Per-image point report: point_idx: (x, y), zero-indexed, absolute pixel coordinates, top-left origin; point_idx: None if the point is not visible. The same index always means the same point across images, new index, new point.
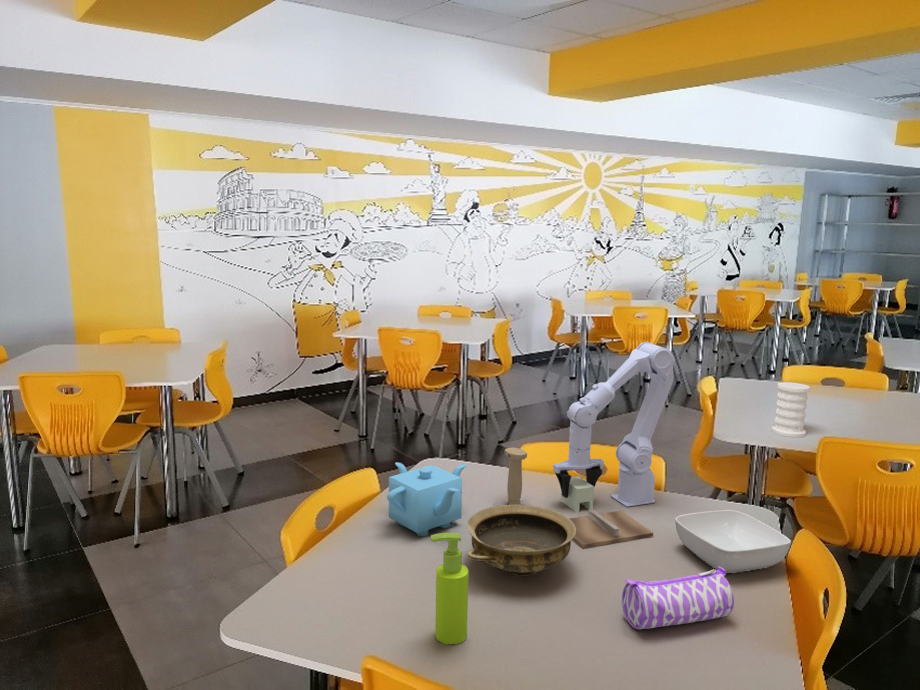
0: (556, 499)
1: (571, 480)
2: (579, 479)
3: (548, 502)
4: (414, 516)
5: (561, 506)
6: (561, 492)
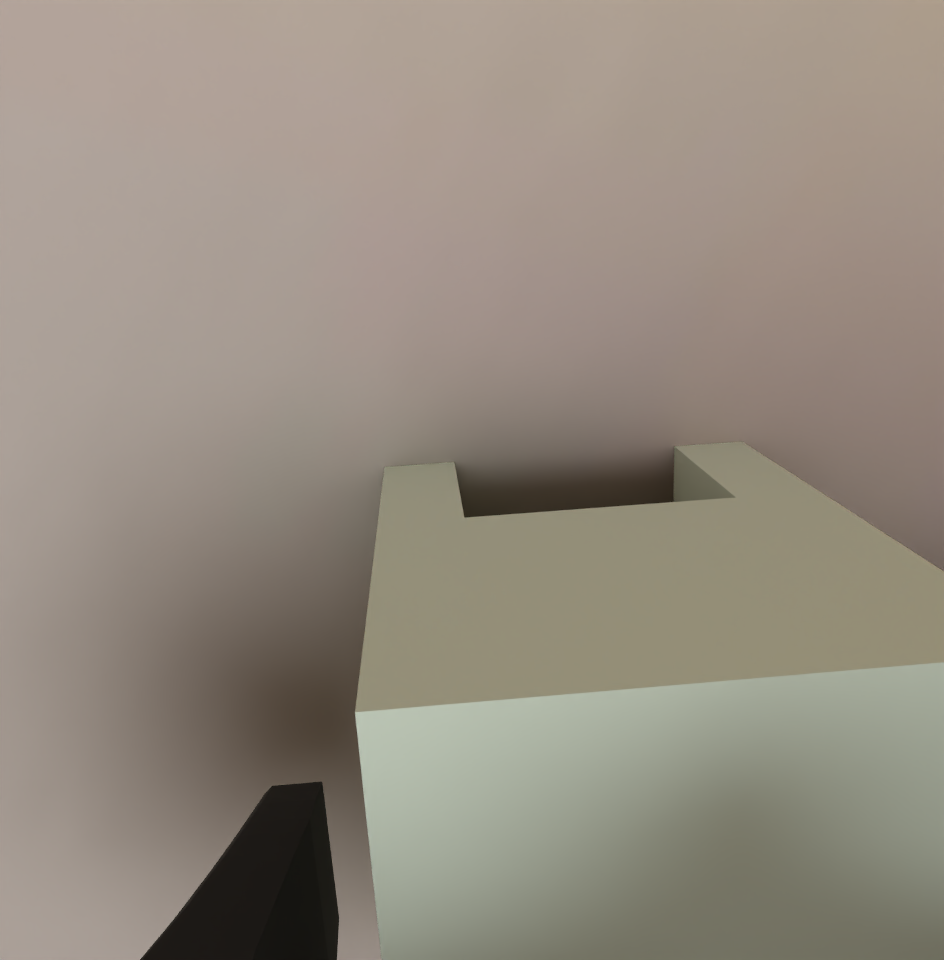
0: (320, 392)
1: (596, 942)
2: (905, 910)
3: (106, 486)
4: None
5: (283, 697)
6: (377, 526)
